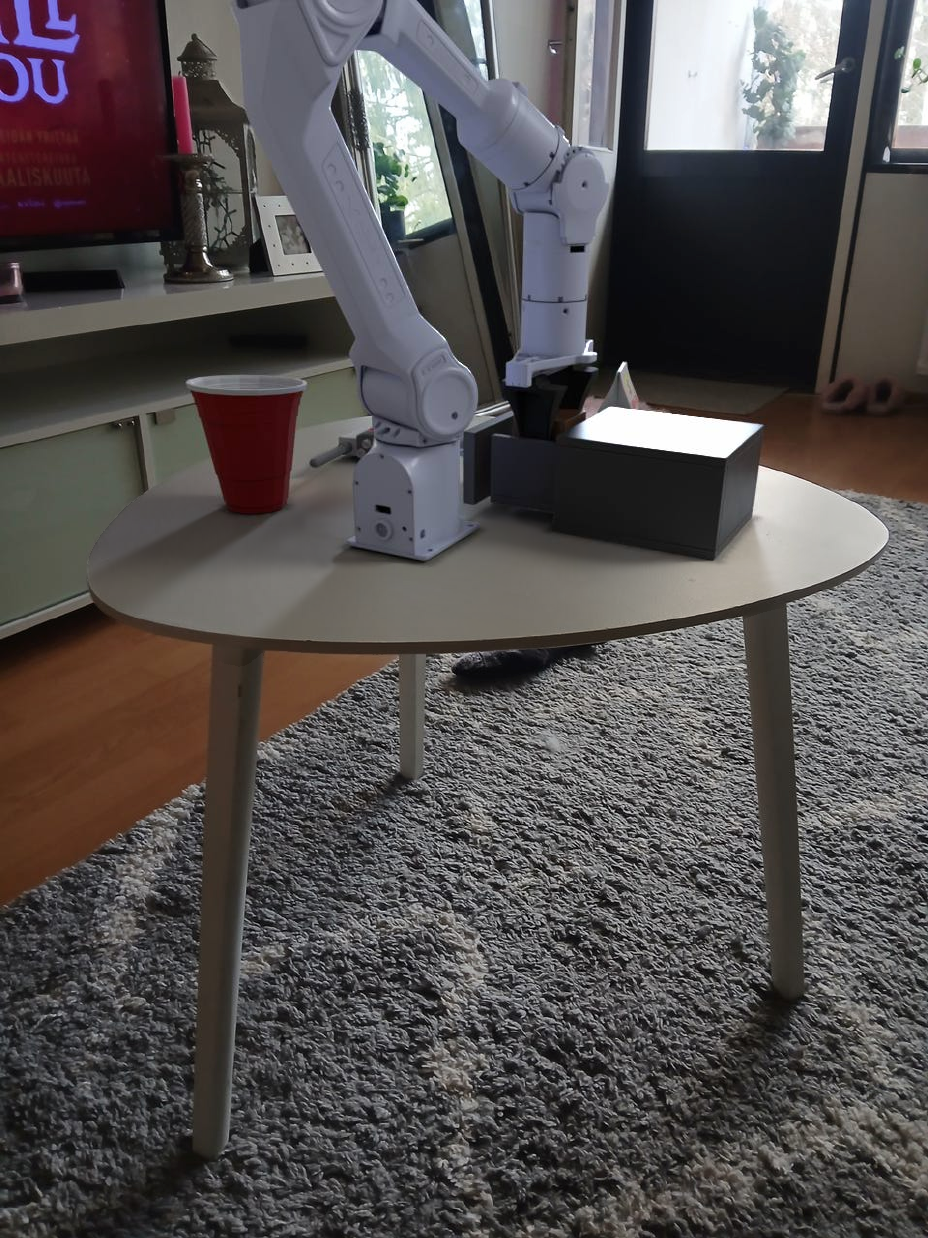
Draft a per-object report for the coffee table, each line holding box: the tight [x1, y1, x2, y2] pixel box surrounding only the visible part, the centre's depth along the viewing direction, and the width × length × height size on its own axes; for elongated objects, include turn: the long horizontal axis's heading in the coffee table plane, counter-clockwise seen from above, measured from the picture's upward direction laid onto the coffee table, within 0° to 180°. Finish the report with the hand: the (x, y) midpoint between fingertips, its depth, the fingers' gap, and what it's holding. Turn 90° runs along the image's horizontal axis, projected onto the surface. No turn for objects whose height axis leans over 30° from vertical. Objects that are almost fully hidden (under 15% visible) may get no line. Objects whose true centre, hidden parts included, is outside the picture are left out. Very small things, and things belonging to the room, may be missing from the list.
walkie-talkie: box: [308, 426, 374, 469], centre depth 107 cm, size 9×4×20 cm
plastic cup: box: [185, 374, 308, 515], centre depth 90 cm, size 11×11×12 cm
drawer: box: [460, 409, 588, 514], centre depth 91 cm, size 18×11×7 cm, turn 61°
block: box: [514, 408, 587, 442], centre depth 90 cm, size 5×5×5 cm
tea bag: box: [597, 361, 639, 414], centre depth 105 cm, size 4×7×10 cm, turn 166°
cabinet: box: [551, 407, 765, 561], centre depth 86 cm, size 15×13×9 cm
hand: (548, 451), depth 90 cm, fingers closed on block, 5 cm apart
